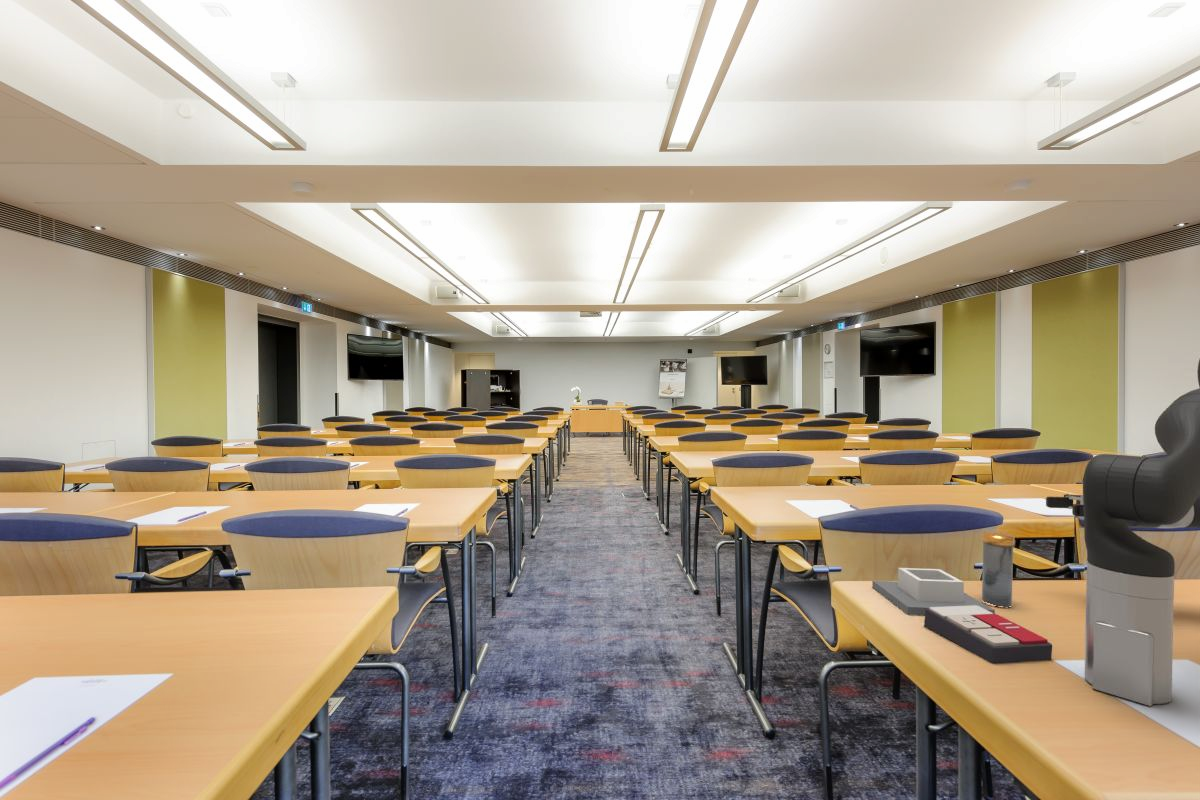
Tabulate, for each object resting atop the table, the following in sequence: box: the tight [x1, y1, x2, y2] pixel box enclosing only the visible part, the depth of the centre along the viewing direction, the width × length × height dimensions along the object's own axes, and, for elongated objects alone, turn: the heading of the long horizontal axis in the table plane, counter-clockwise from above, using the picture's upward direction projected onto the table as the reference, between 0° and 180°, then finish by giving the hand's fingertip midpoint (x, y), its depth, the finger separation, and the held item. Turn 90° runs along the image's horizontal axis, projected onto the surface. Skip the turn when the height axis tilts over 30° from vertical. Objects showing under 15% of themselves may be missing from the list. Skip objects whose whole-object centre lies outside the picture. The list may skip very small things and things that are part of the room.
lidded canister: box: [981, 531, 1015, 607], centre depth 117 cm, size 5×5×14 cm
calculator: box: [923, 605, 1053, 665], centre depth 98 cm, size 11×4×15 cm
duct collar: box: [871, 567, 996, 616], centre depth 117 cm, size 16×16×6 cm
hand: (1059, 506), depth 115 cm, fingers open, 8 cm apart
